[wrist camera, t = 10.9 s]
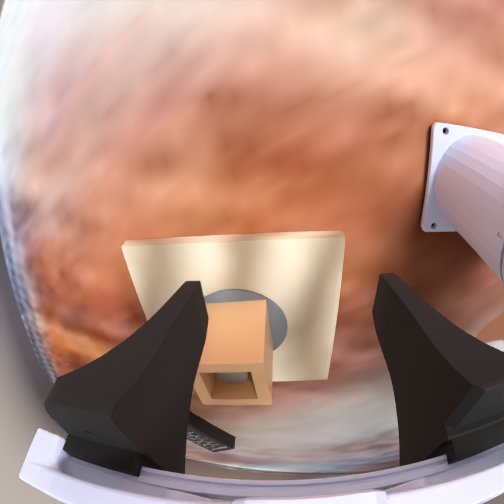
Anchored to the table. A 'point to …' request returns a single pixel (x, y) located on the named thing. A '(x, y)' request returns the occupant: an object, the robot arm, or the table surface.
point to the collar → (236, 354)
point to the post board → (254, 287)
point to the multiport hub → (208, 435)
